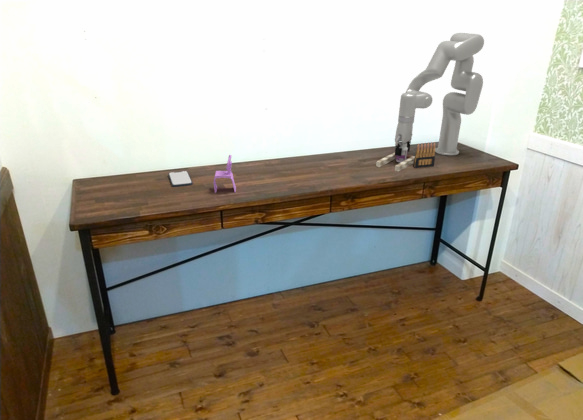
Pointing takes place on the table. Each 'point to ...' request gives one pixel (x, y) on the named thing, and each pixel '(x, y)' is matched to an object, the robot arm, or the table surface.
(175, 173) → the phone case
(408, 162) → the guide channel
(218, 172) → the toy chair
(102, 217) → the table surface
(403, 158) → the pill bottle
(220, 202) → the table surface
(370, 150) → the table surface
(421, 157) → the ammunition clip
